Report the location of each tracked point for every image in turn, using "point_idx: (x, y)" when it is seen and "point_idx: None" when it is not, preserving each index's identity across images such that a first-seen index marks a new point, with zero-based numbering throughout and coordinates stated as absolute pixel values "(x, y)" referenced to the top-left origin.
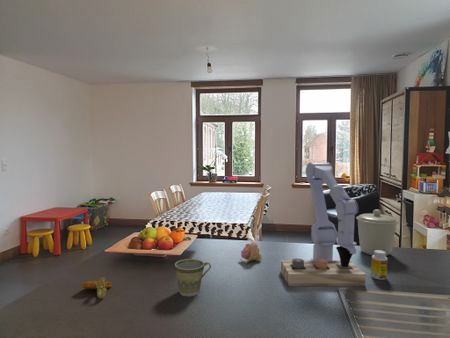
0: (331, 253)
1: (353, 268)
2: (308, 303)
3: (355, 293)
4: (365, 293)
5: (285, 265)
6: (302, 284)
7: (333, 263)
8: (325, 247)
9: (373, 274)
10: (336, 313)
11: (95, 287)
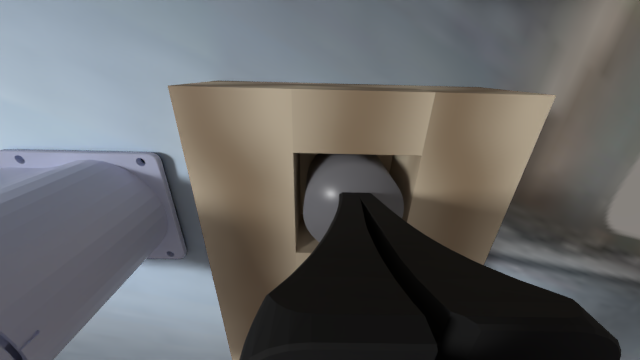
0: (58, 233)
1: (397, 150)
2: None
3: (538, 190)
4: (563, 137)
5: None
6: None
7: (273, 257)
8: (38, 349)
9: None
10: (634, 311)
11: None
